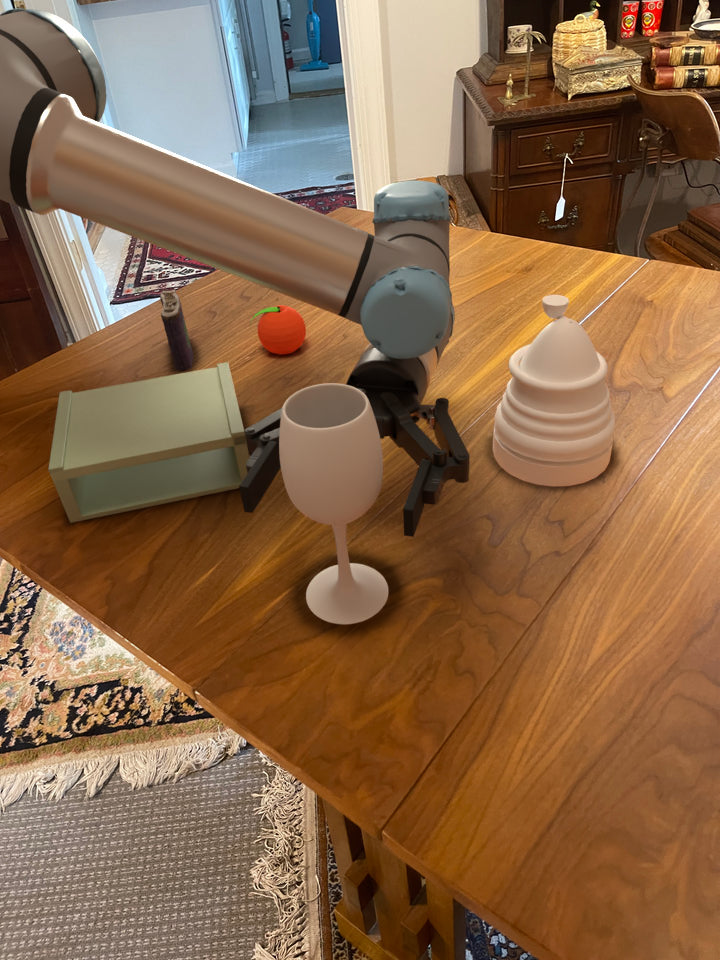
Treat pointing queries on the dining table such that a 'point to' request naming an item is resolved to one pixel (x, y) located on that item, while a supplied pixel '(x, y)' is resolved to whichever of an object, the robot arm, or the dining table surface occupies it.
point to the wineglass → (334, 488)
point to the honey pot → (555, 406)
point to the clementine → (281, 329)
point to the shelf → (147, 443)
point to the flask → (176, 330)
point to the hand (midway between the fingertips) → (324, 511)
